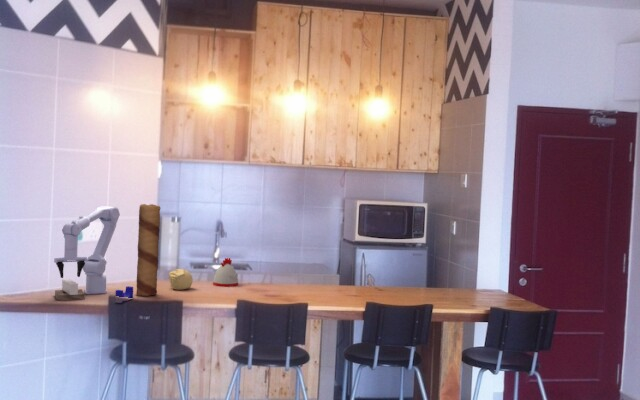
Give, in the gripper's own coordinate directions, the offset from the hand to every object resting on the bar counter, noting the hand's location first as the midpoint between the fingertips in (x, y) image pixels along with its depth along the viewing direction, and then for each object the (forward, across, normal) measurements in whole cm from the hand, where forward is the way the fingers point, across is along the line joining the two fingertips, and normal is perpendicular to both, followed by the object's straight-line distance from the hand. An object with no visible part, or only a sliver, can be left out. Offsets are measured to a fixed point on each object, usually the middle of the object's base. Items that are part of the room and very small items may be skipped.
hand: (70, 277), depth 306 cm
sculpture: (+10, -57, -1) cm, 58 cm away
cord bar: (+7, 0, 0) cm, 7 cm away
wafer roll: (+10, -35, +7) cm, 37 cm away
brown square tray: (+10, 0, 0) cm, 10 cm away
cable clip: (+10, -20, +17) cm, 28 cm away
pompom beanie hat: (+10, -85, -4) cm, 86 cm away
